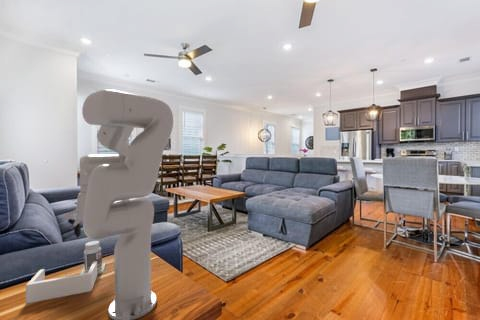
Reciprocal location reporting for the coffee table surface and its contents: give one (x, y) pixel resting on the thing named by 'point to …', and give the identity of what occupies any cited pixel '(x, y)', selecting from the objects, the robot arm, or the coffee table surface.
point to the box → (59, 285)
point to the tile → (97, 270)
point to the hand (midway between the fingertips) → (93, 234)
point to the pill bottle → (92, 255)
